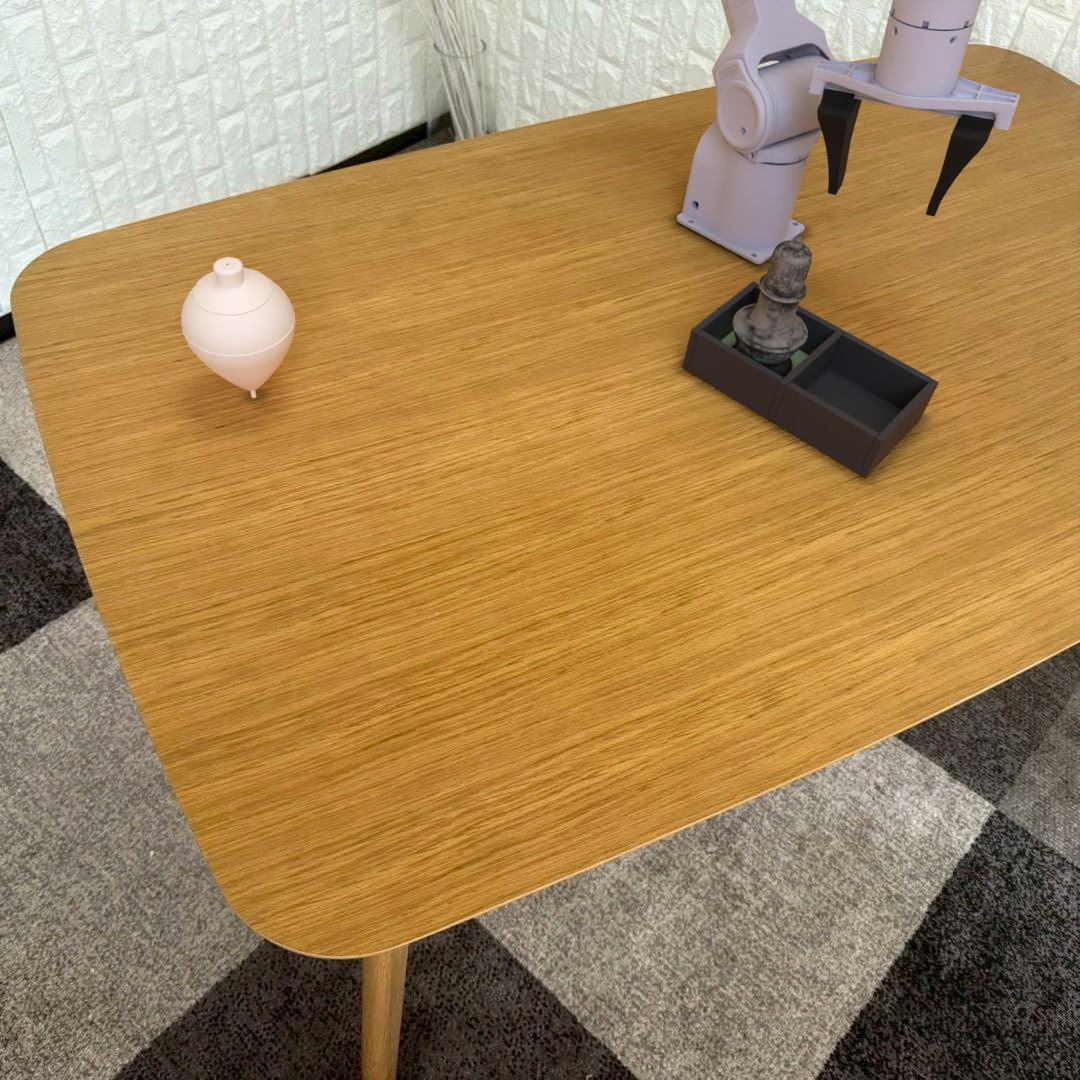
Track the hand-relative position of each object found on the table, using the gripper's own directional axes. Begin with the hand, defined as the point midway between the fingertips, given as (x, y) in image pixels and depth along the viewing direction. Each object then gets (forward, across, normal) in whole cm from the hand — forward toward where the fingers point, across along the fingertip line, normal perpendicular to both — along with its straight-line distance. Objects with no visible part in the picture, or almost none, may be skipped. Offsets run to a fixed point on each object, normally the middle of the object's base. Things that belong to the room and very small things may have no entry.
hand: (882, 199), depth 80 cm
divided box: (+11, +1, +12) cm, 16 cm away
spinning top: (+9, +38, +34) cm, 51 cm away
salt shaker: (+10, +5, +11) cm, 16 cm away
